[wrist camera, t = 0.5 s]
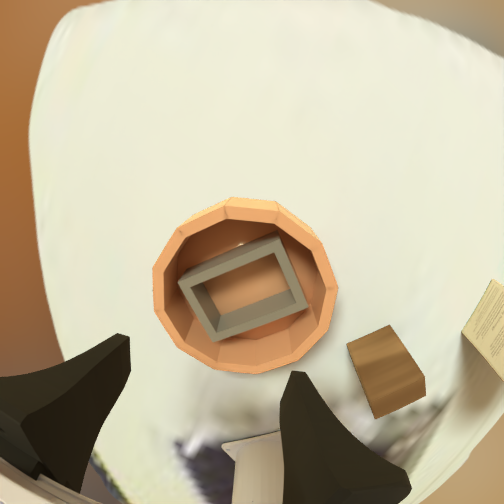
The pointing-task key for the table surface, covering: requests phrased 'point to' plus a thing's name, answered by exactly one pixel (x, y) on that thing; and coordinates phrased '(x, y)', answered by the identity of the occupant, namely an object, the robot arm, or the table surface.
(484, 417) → the table surface
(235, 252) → the faceted orange bowl
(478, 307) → the skincare box
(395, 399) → the wooden rectangular peg
